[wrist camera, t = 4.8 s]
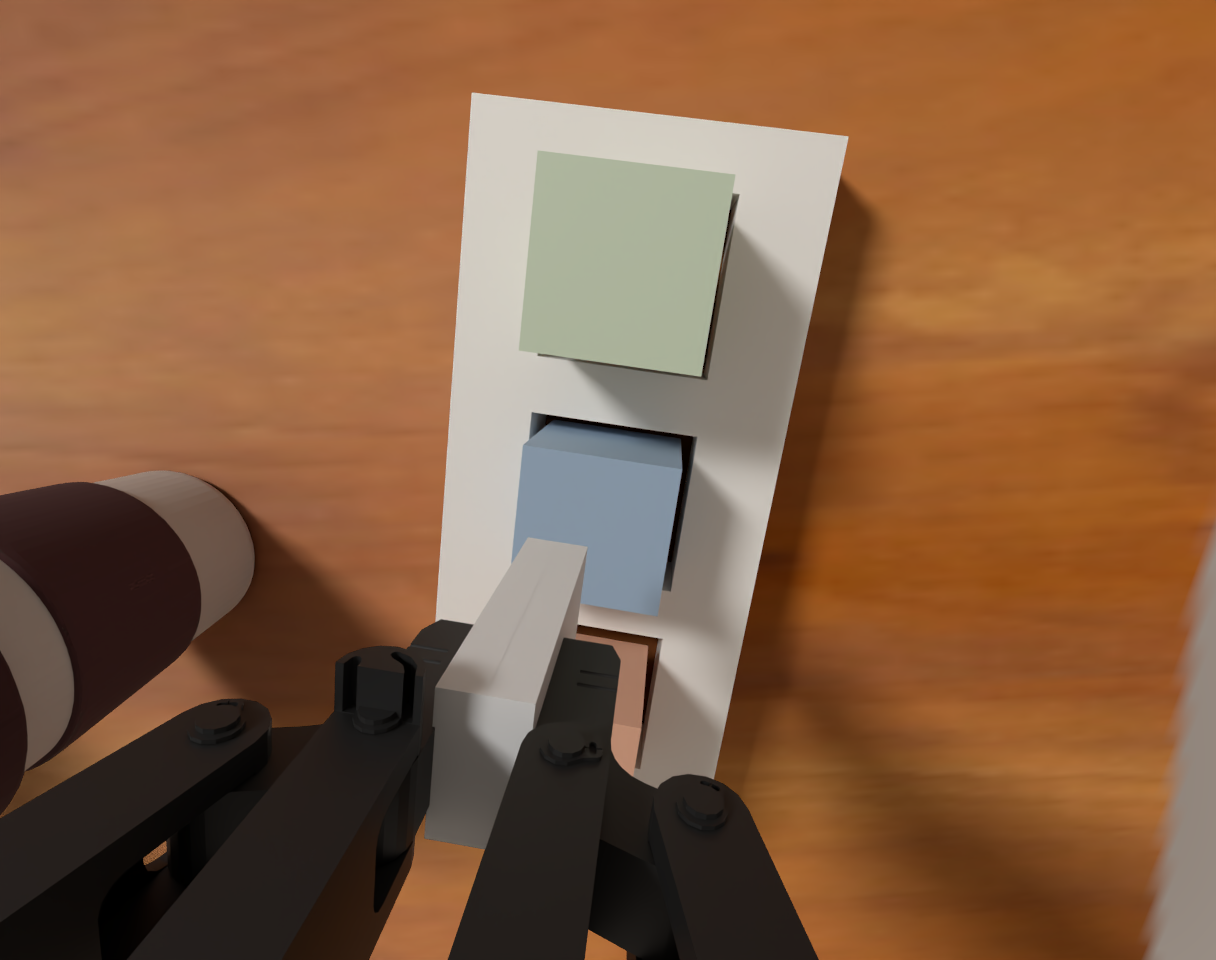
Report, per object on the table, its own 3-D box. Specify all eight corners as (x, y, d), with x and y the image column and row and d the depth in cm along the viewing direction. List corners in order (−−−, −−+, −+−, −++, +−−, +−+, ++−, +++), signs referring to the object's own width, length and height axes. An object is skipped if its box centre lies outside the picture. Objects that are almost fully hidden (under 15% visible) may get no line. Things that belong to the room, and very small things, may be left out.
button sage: (554, 343, 22) (518, 350, 17) (570, 190, 21) (537, 150, 16) (695, 363, 22) (701, 376, 17) (721, 209, 21) (735, 174, 16)
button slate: (540, 538, 26) (508, 591, 21) (553, 419, 25) (522, 445, 20) (661, 558, 26) (657, 616, 21) (680, 438, 24) (682, 469, 19)
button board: (449, 726, 30) (425, 769, 27) (497, 120, 23) (471, 92, 20) (701, 773, 29) (704, 822, 26) (826, 160, 22) (848, 136, 20)
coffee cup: (285, 452, 27) (-151, 602, 13) (291, 656, 30) (-68, 972, 15) (72, 425, 28) (-564, 538, 14) (96, 626, 31) (-422, 901, 16)
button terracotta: (511, 731, 26) (473, 828, 21) (523, 624, 25) (485, 700, 20) (630, 753, 26) (619, 857, 21) (648, 645, 25) (641, 728, 20)
